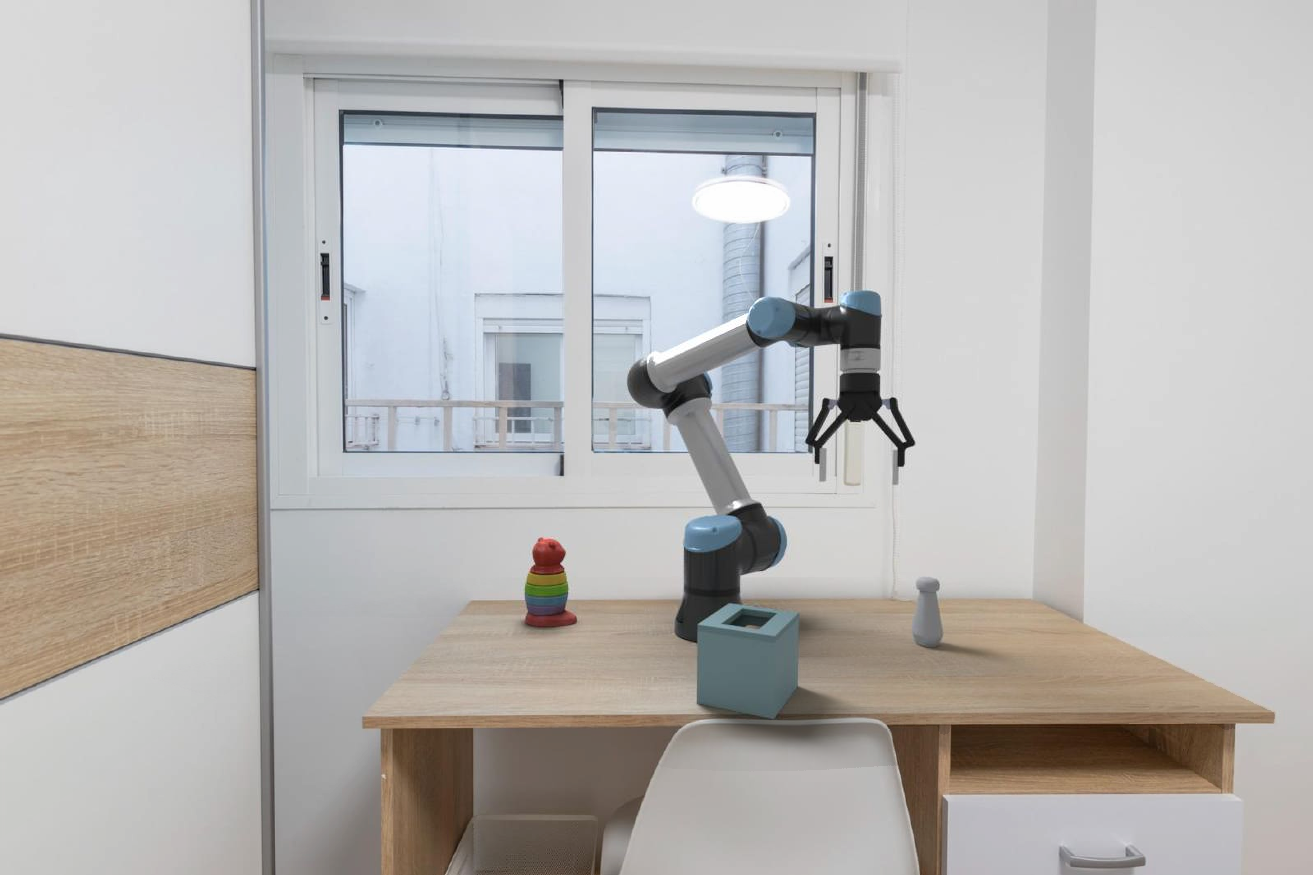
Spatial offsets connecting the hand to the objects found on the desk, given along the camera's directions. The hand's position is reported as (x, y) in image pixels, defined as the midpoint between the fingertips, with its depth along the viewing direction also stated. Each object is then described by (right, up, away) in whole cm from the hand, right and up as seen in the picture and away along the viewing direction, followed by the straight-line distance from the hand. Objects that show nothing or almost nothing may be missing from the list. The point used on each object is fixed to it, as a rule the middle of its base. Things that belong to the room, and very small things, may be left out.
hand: (858, 483), depth 127 cm
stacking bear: (-62, -31, +15) cm, 71 cm away
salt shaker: (+14, -32, +2) cm, 35 cm away
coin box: (-24, -32, -24) cm, 46 cm away
